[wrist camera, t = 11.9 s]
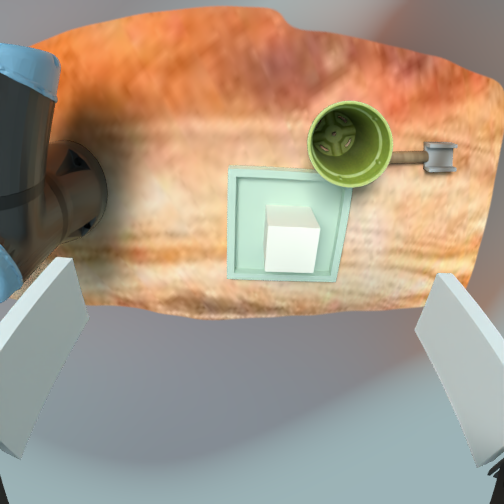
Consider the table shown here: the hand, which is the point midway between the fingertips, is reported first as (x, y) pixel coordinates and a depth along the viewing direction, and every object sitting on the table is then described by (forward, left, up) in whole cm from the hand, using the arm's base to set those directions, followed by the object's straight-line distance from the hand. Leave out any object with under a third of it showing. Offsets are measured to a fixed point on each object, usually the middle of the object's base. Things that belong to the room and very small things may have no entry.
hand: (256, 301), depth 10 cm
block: (+5, -11, -31) cm, 33 cm away
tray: (+5, -11, -32) cm, 34 cm away
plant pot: (+10, +2, -32) cm, 34 cm away
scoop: (+23, +1, -32) cm, 39 cm away
